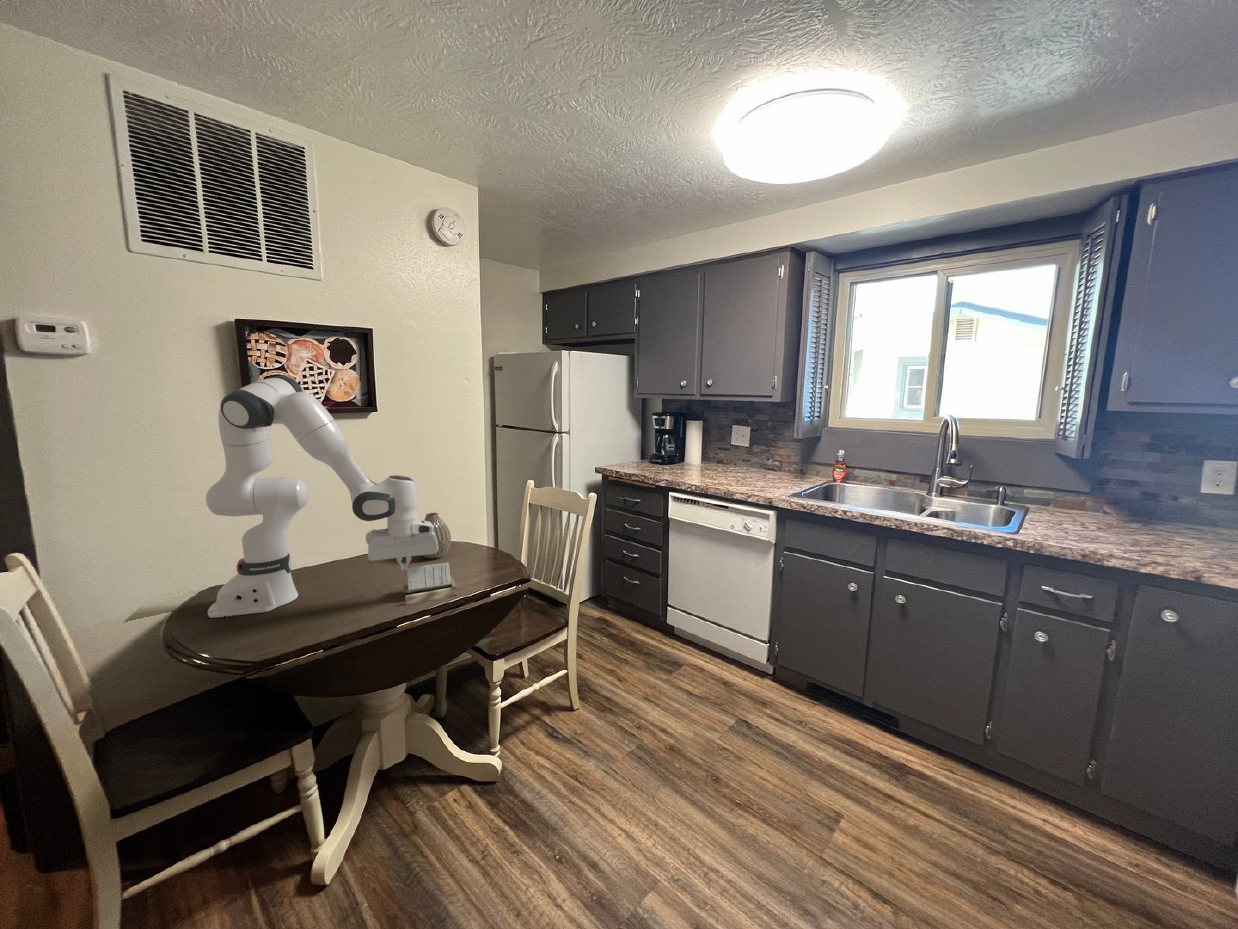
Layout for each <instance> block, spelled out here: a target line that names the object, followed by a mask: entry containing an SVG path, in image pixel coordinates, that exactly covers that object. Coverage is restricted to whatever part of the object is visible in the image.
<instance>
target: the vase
mask: <svg viewBox="0 0 1238 929" xmlns="http://www.w3.org/2000/svg"><path fill="white" fill-rule="evenodd" d="M423 521H428V522H431V523H432V524H433V531H434V533H435V535H436V537H437V542H438V551H437V553H435V554H427V555H421V556H423V557H424V558H426V559H427V558H428V559H427V560H435V559H434V558H437V559H440V558H443V557H444V556H445V555H446V554H447V553H448V551H449V549H450V547H451V543H452V537H451V531H450V530H449V527H448V526H447V524H446V523H445V522H444V521H443V520H442V519H441V518H440V516H439V513H438V512H428V513H426V514H425V517H424V519H423Z"/></svg>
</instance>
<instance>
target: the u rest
mask: <svg viewBox="0 0 1238 929" xmlns="http://www.w3.org/2000/svg"><path fill="white" fill-rule="evenodd" d="M402 589H403V591H402V592H403V594H406V593H408V594H407V595H405V597H404V598H405V605H408V606H409V605H412V604H418V603H417V602H419V603H422V601H424V602H427V601H428V602H429V601H434V600H439V599H444V598H451V597H455V596H454V595H456V596H458V585H457V584H456V582H455V579H454V578H453V576H452V574H450V586H449V587H446V588H439V589H433V590H428V591H422V592H419V593H418V592H417V593H412V594H409V592H408V583H405V584H402Z"/></svg>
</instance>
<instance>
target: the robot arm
mask: <svg viewBox="0 0 1238 929" xmlns="http://www.w3.org/2000/svg"><path fill="white" fill-rule="evenodd" d="M273 423H279V424H281V425H283V426H285V428H287V430H289V433H290V434H291V435H292V436H293V438H294V439H295V440H296V442H297V443H298V445H299V446H300V447H301V448H302V449H303V450H304V452H306V453H307V454H308V455H309V456H311V457H312V458H313V459H314V460H317V461H319V462H322V463H324V464H325V465H327V466H329V467H330V468H331V469H332V470H333V471H334V472H335V474H336V475H337V476H338V477H339V478H340V480H341V481H342V483H343V484H344V485H345V487H347V489H348V491H349V494H350V498H351V499H350V500H351V505H352V506H351V509H352V512H353V514H354V515H355V517H357V519H359V520H361V521H365V522H372V521H373V522H374V521H377V520H382V519H383V520H384V519H385V518H386V523H387V524H386V526H387V528H381V529H371V530H370V531H368V532H367V533H366V534H365V543H367V545H368V546H367V559H368V560H369V561H371V562H373V561H383V560H390V559H396V561H397V562H396V563H398V564H399V566H400V571H401V572H404V571H408V565H409V564H410V562H412V557H417V556H422V555H427V554H435V553H437V551H438V542H437V537H436V535H435V533H434V531H433V524H432V523H431V522H428V521H424V519H423V520H422V519H419V515H418V511H417V507H418V490H417V484H416V483H415V481H414V480H413V479H412V478H410V477H408V476H405V475H390V476H387V478H385V479H384V480H382V481H380V482H378V483H376V482H374V481H373V480H371V479H370V478H369V477H368V476H367V475H366V473H364V471H363V470H362V468H361V467H360V466H359V464H358V463H357V462H356V460H355V459H354V457H353V456H352V453H351V452H350V449H349V445H348V442H347V440H346V438H345V435H344V433H343V431H342V430H341V428H340V426H339V425H338V423H337V421H336V420H335V418H334V417H333V416H332V415H331V414H330V412H329V411H328V410H327V408H325V406H324V405H323V404H322V403H321V402H320V401H319V400H318V399H317V398H316V397H315V396H314V395H312V394H311V393H309V392H307V391H303V388H302V387H301V385H300V384H299V383H298V382H297V381H296V380H295V379H293V378H292V377H289V376H285V375H276V376H275V375H274V376H270V377H268V378H265V379H261V380H257V381H254V382H251V383H249V384H247V385H245V386H243V387H242V388H239V389H235V390H232V391H231V392H229V393H227V395H226V396H224V397H223V398H222V400H221V402H220V408H219V410H218V429H219V435H220V440H221V444H222V448H223V453H224V457H225V458H224V459H225V470H224V473H223V475H222V477H221V478H219V480H218V481H217V482H216V483H214V484H212V486H210V487H209V489H208V491H207V492H206V495H205V503H206V506H207V508H208V510H209V511H210V512H211V513H212V514H214V515H216V516H224V517H243V516H244V517H246V516H256V515H258V516H259V515H261V516H262V521H261V522H260V523H258V524H256V525H255V526H253V527H251V528H249V529H248V530H246V531H245V533H244V534H243V536H242V538H241V543H242V545H241V546H242V551H243V552H242V553H243V557H242V558H240V559H239V560H238V561H237V564H236V572H237V574H235V575H234V576H233V577H232V578H230V580H228V581H227V582H226V583H225V584H224V585H222V586H221V588H220V589H219V590H218V592H217V596H216V601H215V602H214V603H213V604H211V605H210V607H209V608H208V609H207V616H208V617H209V618H211V619H213V618H223V617H224V616H225V617H232V616H233V615H234V616H241V615H249V614H259V613H268V612H271V611H272V610H274V609H276V608H278V607H281V606H283V605H286V604H289V603H291V602H293V601H295V600H296V599H297V598H298V597H299V593H298V591H297V588H296V586H295V582H294V580H293V577H292V576H293V575H292V573H291V571H292V560H291V556H290V553H289V551H288V541H287V540H288V527H289V525H290V522H291V520H293V517H295V516H296V514H298V512H299V511H300V510H302V509H303V508H304V507H305V506H306V504H307V502H308V501H309V498H310V491H309V488H308V485H307V484H306V483H305V482H304V480H302V479H300V478H294V477H285V476H283V477H268V478H267V477H266V478H257V477H255V474H257V473H259V472H262V471H263V470H265V469H267V468H268V467H269V466H270V465H271V464H272V462H273V460H274V453H273V449H272V445H271V439H270V435H269V430H268V427H271V426H272V425H273ZM403 558H405V560H406V561H405V563H403V562H402V560H403Z"/></svg>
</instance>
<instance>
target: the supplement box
mask: <svg viewBox="0 0 1238 929" xmlns="http://www.w3.org/2000/svg"><path fill="white" fill-rule="evenodd" d="M406 571H407V575H406V576H407V584H408V594H409V593H416V592H417V593H418V592H426V591H433V590H440V589H446V588H450V587H449V586H450V575H451V573H450V562H443V563H433V564H425V565H419V566H418V565H416V566H411V567H410V566H409V567H408V570H406Z"/></svg>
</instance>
